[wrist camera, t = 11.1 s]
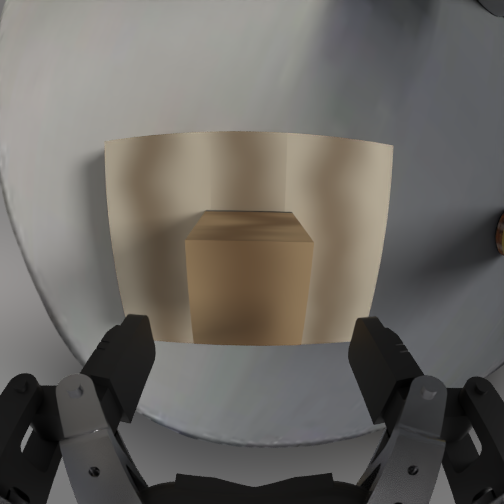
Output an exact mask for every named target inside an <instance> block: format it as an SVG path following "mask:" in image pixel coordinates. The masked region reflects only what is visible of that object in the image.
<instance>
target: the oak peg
mask: <svg viewBox="0 0 504 504" xmlns="http://www.w3.org/2000/svg"><path fill="white" fill-rule="evenodd" d="M313 249H314V242H313V240H312V239H311V237H310V236H309V235H308V233H307V232H306V230H305V229H304V228H303V226H302V225H301V224H300V222H299V221H298V220H297V218H296V217H295V216H294V214H293V213H292V212H281V211H238V210H206V211H205V212H204V214H203V215H202V217H201V218H200V219H199V221H198V222H197V224H196V225H195V226H194V228H193V229H192V231H191V232H190V233H189V235H188V236H187V238H186V239H185V252H186V268H187V281H188V293H189V304H190V315H191V325H192V334H193V342H194V344H214V345H254V346H271V345H301V343H302V336H303V329H304V323H305V316H306V308H307V301H308V293H309V285H310V276H311V268H312V258H313Z"/></svg>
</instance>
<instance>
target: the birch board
mask: <svg viewBox="0 0 504 504" xmlns="http://www.w3.org/2000/svg"><path fill="white" fill-rule="evenodd" d="M392 160H393V146H392V145H387V144H381V143H375V142H369V141H362V140H355V139H347V138H339V137H330V136H320V135H309V134H296V133H279V132H244V131H227V132H193V133H175V134H162V135H151V136H142V137H133V138H125V139H117V140H111V141H105V177H106V194H107V206H108V217H109V226H110V235H111V242H112V249H113V256H114V263H115V269H116V274H117V280H118V285H119V290H120V295H121V300H122V305H123V309H124V314H125V318H126V316H127V315H128V314H137V315H147V316H148V318H149V321H150V325H151V330H152V335H153V339H154V341H166V342H179V343H194V342H193V334H192V325H191V315H190V304H189V293H188V281H187V268H186V252H185V239H186V238H187V236H188V235H189V233H190V232H191V231H192V229H193V228H194V226H195V225H196V224H197V222H198V221H199V219H200V218H201V217H202V215H203V214H204V212H205V211H206V210H238V211H281V212H292V213H293V214H294V216H295V217H296V218H297V220H298V221H299V222H300V224H301V225H302V226H303V228H304V229H305V230H306V232H307V233H308V235H309V236H310V237H311V239H312V240H313V242H314V249H313V258H312V268H311V276H310V285H309V293H308V301H307V308H306V316H305V323H304V329H303V336H302V343H301V344H320V343H336V342H349V341H351V338H352V334H353V330H354V326H355V322H356V320H357V318H361V317H368V316H369V312H370V308H371V304H372V300H373V295H374V291H375V286H376V281H377V277H378V272H379V266H380V261H381V255H382V249H383V243H384V237H385V230H386V223H387V215H388V207H389V198H390V188H391V176H392Z"/></svg>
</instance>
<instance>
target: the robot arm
mask: <svg viewBox="0 0 504 504" xmlns="http://www.w3.org/2000/svg"><path fill="white" fill-rule="evenodd" d="M478 1H479V2H480V3H481V4H482V5H483V6H484V7H485V8H486V9H487V10H488V11H490V12H491V13H493V14H494V15H496V16H499V17H501V16H504V0H478ZM348 358H349V363H350V366H351V368H352V371H353V373H354V375H355V378H356V380H357V383H358V385H359V388H360V390H361V393H362V395H363V398H364V401H365V403H366V406H367V408H368V411H369V414H370V416H371V419H372V422H373V424H374V425H375V424H380V423H384V422H385V425H386V429H385V430H384V432H383V435H382V437H381V439H380V441H379V444H378V446H377V448H376V450H375V453H374V454H373V457H372V459H371V461H370V463H369V465H368V467H367V468H366V470H365V472H364V473H363V475H362V476H361V478H360V479H359V481H358V482H357V484H356V485H354V484H350V483H345V482H339V481H333V477H332V473H327V474H320V475H312V476H302V477H294V478H290V479H287V480H283V481H279V482H276V483H272V484H268V485H263V486H259V487H250V486H245V485H241V484H237V483H233V482H229V481H225V480H221V479H218V478H212V477H201V476H192V475H184V474H176V480H175V482H167V483H161V484H157V485H153V486H151V487H148V485H147V484H146V482H145V480H144V479H143V477H142V476H141V474H140V473H139V471H138V469H137V468H136V466H135V464H134V462H133V460H132V458H131V456H130V454H129V452H128V450H127V448H126V446H125V443H124V441H123V439H122V437H121V435H120V432H119V430H118V429H117V427H118V425H119V422H120V421H122V422H126V423H131V421H132V418H133V415H134V413H135V410H136V407H137V405H138V402H139V399H140V397H141V394H142V391H143V389H144V386H145V384H146V381H147V378H148V376H149V373H150V371H151V368H152V366H153V363H154V360H155V344H154V339H153V335H152V330H151V325H150V321H149V318H148V316H147V315H137V314H128V315H127V316H126V318H125V319H124V321H123V322H122V324H121V325H116V326H114V327H113V328H112V329H110V330H109V331H107V332H106V334H105V335H104V337H103V338H102V340H101V342H100V343H99V344H98V346H97V349H95V350H94V352H93V353H92V355H91V356H90V358H89V360H88V361H87V363H86V364H85V366H84V367H83V369H82V371H81V372H80V374H71V375H68V376H66V377H64V378H63V379H62V380H61V381H60V382H59V383H58V385H57V386H40V385H39V383H38V381H37V380H36V378H35V377H34V376H33V375H31V374H27V373H24V374H19V375H17V376H15V377H14V378H12V379H11V380H10V382H9V383H8V385H7V386H6V388H5V389H4V391H3V392H2V394H1V395H0V504H46V503H47V499H48V496H49V493H50V489H51V486H52V483H53V480H54V477H55V475H56V472H57V469H58V466H59V463H60V460H61V458H62V457H63V461H64V464H65V468H66V471H67V474H68V477H69V481H70V484H71V486H72V489H73V492H74V495H75V498H76V500H77V503H78V504H429V501H430V499H431V496H432V493H433V490H434V487H435V484H436V480H437V477H438V473H439V470H440V466H441V462H442V465H443V468H444V471H445V473H446V476H447V479H448V482H449V485H450V488H451V491H452V494H453V497H454V500H455V503H456V504H504V402H503V400H502V399H501V397H500V396H499V394H498V393H497V391H496V390H495V388H494V387H493V385H492V384H491V383H490V382H489V381H488V380H486V379H484V378H482V377H471V378H470V379H468V380H467V382H466V384H465V385H464V387H463V388H446V387H445V385H444V384H443V382H441V381H440V380H439V379H437V378H435V377H433V376H428V375H424V374H423V372H422V371H421V369H420V368H419V366H418V365H417V363H416V361H415V360H414V358H413V357H412V355H411V354H410V352H408V349H407V348H406V346H405V345H403V342H402V341H401V339H400V338H399V336H398V335H397V334H396V333H394V332H393V331H392V330H390V329H389V328H384V326H383V325H382V323H381V322H380V320H379V319H378V318H377V317H361V318H357V320H356V322H355V326H354V330H353V334H352V338H351V342H350V346H349V351H348ZM29 425H30V426H31V427H32V428H33V431H32V433H31V435H30V437H29V439H28V441H27V444H26V446H25V448H24V450H23V452H21V447H20V445H21V442H22V440H23V437H24V435H25V433H26V431H27V429H28V427H29ZM472 427H473V428H474V430H475V432H476V434H477V436H478V438H479V440H480V442H481V445H482V451H481V454H480V456H479V454H478V452H477V450H476V448H475V445H474V444H473V441H472V439H471V437H470V435H469V433H468V432H469V430H470V429H471V428H472Z"/></svg>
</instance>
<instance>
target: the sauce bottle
mask: <svg viewBox="0 0 504 504" xmlns="http://www.w3.org/2000/svg"><path fill="white" fill-rule="evenodd" d="M495 238H496V244H497V248H498V251H499V252H500V253H501V254H502V255H504V214H503V215H502V216H501V218H500V220H499V223H498V226H497V229H496V236H495Z"/></svg>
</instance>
